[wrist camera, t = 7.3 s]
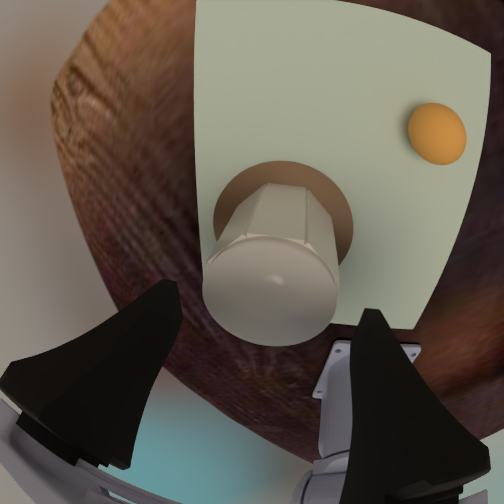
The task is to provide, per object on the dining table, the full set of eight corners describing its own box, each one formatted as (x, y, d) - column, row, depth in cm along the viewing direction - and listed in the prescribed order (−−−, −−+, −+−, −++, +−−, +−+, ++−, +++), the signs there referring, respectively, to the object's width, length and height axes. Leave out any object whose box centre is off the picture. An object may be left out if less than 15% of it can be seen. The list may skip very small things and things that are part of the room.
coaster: (337, 291, 17) (337, 294, 17) (217, 275, 19) (215, 278, 18) (364, 171, 13) (366, 173, 13) (212, 155, 14) (211, 157, 14)
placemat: (411, 325, 18) (412, 329, 18) (207, 301, 21) (206, 305, 20) (486, 53, 7) (490, 53, 7) (199, 2, 10) (196, 0, 9)
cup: (321, 272, 17) (321, 352, 12) (236, 261, 17) (207, 335, 12) (336, 191, 14) (351, 256, 9) (237, 180, 14) (197, 236, 9)
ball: (443, 161, 12) (470, 180, 9) (396, 149, 12) (416, 165, 10) (452, 110, 10) (482, 118, 7) (403, 94, 10) (427, 96, 8)
